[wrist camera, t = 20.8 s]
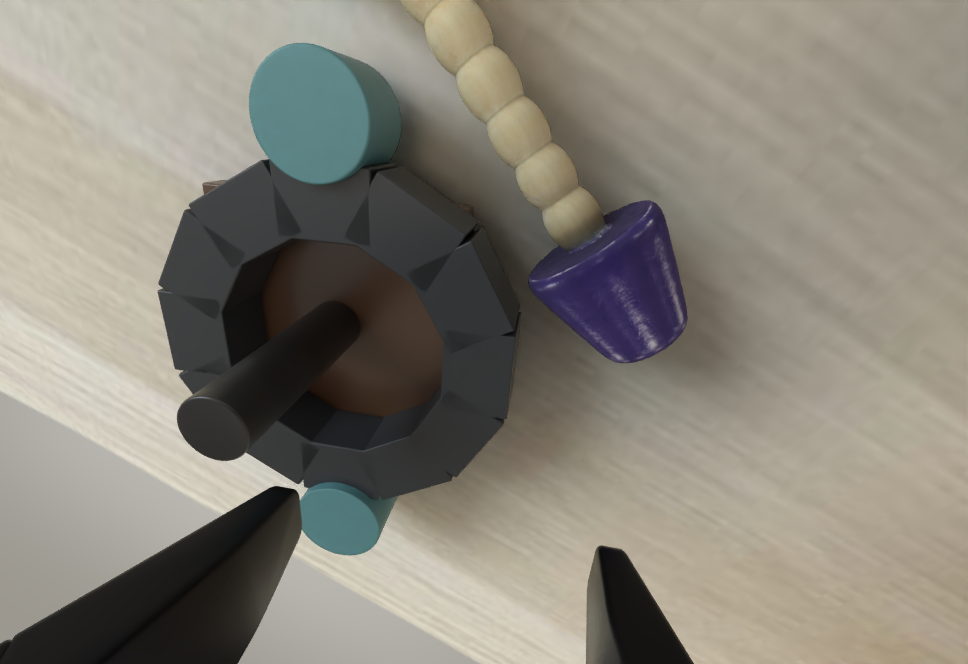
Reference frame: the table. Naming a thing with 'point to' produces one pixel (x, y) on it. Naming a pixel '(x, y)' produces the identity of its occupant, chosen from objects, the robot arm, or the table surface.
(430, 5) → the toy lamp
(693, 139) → the table surface
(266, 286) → the stand
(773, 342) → the table surface
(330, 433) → the grey faceted ring
